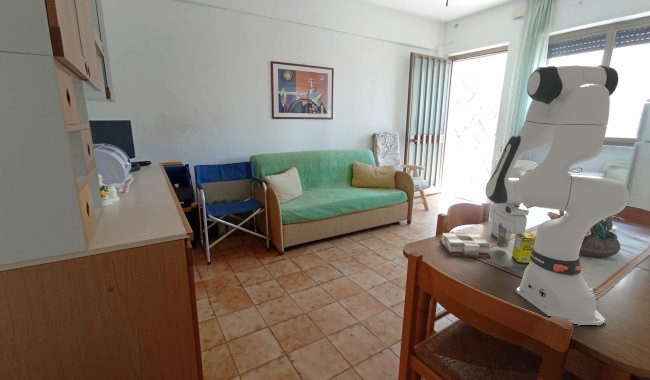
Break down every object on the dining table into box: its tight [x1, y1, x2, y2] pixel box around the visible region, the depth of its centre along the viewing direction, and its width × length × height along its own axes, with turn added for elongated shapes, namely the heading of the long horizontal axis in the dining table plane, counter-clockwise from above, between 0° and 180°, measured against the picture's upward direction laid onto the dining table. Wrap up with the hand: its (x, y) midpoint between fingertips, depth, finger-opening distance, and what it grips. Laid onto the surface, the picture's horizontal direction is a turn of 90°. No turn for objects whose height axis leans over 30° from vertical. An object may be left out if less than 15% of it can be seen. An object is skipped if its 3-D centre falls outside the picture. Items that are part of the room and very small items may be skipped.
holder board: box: [439, 230, 492, 259], centre depth 127 cm, size 16×16×5 cm
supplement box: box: [511, 232, 536, 265], centre depth 116 cm, size 6×6×11 cm
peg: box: [496, 223, 509, 249], centre depth 125 cm, size 4×4×10 cm
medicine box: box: [491, 221, 498, 238], centre depth 140 cm, size 8×4×9 cm, turn 179°
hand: (503, 236), depth 125 cm, fingers closed on peg, 4 cm apart
